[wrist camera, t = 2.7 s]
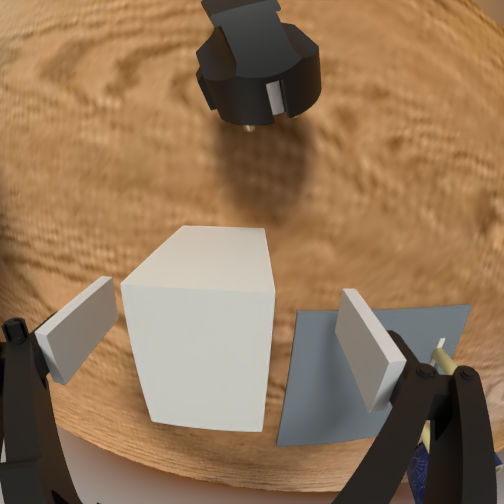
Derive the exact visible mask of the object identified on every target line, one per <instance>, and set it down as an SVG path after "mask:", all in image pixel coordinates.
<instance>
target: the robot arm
mask: <svg viewBox="0 0 504 504" xmlns="http://www.w3.org/2000/svg"><path fill="white" fill-rule="evenodd" d="M118 319H119V316H118V310H117V305H116V299H115V292H114V286H113V278H112V277H106V276H101V277H100V278H99V279H97V280H96V281H95V282H94V283H92V284H91V285H90V286H89V287H87V288H86V289H85V290H84V291H82V292H81V293H80V294H79V295H77V296H76V297H75V298H74V299H73V300H71V301H70V302H69V303H68V304H66V305H65V306H64V307H63V308H62V309H61V310H59V311H58V312H56V313H54V314H52V315H51V316H50V317H48V318H47V320H45V321H44V322H43V323H42V324H40V325H39V326H38V327H37V328H36V329H35V330H33V331H32V332H31V333H30V334H29V332H28V329H27V326H26V323H25V320H24V319H23V318H12V319H9V320H8V321H6V322H5V323H4V324H3V325H2V330H3V332H4V335H5V338H6V340H7V342H0V461H1V453H2V446H3V440H4V442H5V453H6V462H5V463H4V462H3V463H0V482H1V488H2V494H3V499H4V503H5V504H83V503H82V502H81V501H80V499H79V497H78V495H77V493H76V490H75V487H74V485H73V482H72V479H71V476H70V474H69V470H68V468H67V465H66V461H65V458H64V454H63V451H62V447H61V444H60V440H59V436H58V432H57V427H56V423H55V418H54V413H53V408H52V403H51V397H50V391H49V384H48V380H47V378H46V375H47V374H48V373H49V372H50V374H51V376H52V379H53V381H54V382H57V383H60V384H62V385H65V386H66V384H67V383H68V382H69V380H70V379H71V378H72V376H73V375H74V374H75V372H76V371H77V370H78V369H79V367H80V366H81V365H82V363H83V362H84V361H85V360H86V358H87V357H88V356H89V354H90V353H91V352H92V351H93V349H94V348H95V347H96V346H97V344H98V343H99V342H100V341H101V339H102V338H103V337H104V336H105V334H106V333H107V332H108V331H109V330H110V328H111V327H112V326H113V325H114V324H115V322H116V321H117V320H118ZM335 333H336V335H337V337H338V340H339V342H340V344H341V347H342V349H343V351H344V354H345V356H346V358H347V361H348V363H349V366H350V368H351V370H352V373H353V375H354V378H355V380H356V382H357V385H358V387H359V390H360V392H361V395H362V397H363V400H364V402H365V405H366V407H367V410H368V412H369V413H371V412H378V411H384V410H385V409H386V407H387V405H388V403H389V401H390V403H391V405H392V409H391V411H390V413H389V415H388V417H387V419H386V421H385V423H384V425H383V426H382V428H381V430H380V432H379V434H378V435H377V437H376V439H375V441H374V442H373V444H372V446H371V447H370V449H369V451H368V452H367V454H366V455H365V457H364V459H363V460H362V462H361V463H360V465H359V466H358V468H357V469H356V471H355V472H354V474H353V475H352V477H351V478H350V479H349V481H348V482H347V484H346V485H345V486H344V488H343V489H342V490H341V492H340V493H339V495H338V496H337V497H336V498H335V500H334V501H333V502H332V503H331V504H389V503H390V501H391V499H392V497H393V495H394V494H395V492H396V490H397V488H398V486H399V484H400V482H401V480H402V478H403V476H404V474H405V472H406V470H407V467H408V465H409V463H410V461H411V458H412V456H413V454H414V451H415V449H416V446H417V444H418V441H419V439H420V436H421V434H422V431H423V428H424V425H425V422H426V420H430V445H429V459H428V470H427V479H426V487H425V494H424V500H423V504H497V486H496V485H497V484H496V465H495V455H494V446H493V438H492V432H491V426H490V420H489V415H488V410H487V405H486V400H485V396H484V392H483V388H482V384H481V380H480V376H479V374H478V372H477V371H476V370H474V369H473V368H471V367H469V366H458V367H457V368H456V369H455V370H454V372H453V374H452V375H441V374H439V373H438V371H437V369H436V368H434V367H433V366H431V365H429V364H426V363H420V362H419V360H418V359H417V358H416V356H415V355H414V353H413V352H412V351H411V349H410V348H408V345H407V344H406V343H405V341H404V340H403V339H402V337H401V336H400V335H399V334H397V333H396V332H394V331H393V330H385V329H384V327H383V326H382V324H381V323H380V322H379V320H378V319H377V317H376V316H375V315H374V313H373V312H372V311H371V309H370V308H369V306H368V305H367V304H366V302H365V301H364V300H363V298H362V297H361V296H360V294H359V293H358V292H357V290H356V289H343V290H342V295H341V301H340V307H339V312H338V317H337V323H336V328H335ZM97 504H100V503H97Z"/></svg>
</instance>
